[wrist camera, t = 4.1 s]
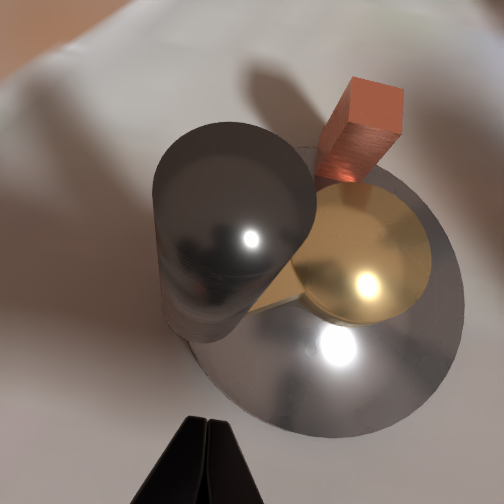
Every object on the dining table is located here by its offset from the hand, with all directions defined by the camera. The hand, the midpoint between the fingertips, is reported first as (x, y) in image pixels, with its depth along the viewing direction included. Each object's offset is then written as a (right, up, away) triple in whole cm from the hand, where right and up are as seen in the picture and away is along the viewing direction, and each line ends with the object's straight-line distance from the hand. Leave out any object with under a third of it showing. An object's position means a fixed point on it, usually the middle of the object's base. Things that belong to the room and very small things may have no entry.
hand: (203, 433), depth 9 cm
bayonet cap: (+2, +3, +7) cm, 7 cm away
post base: (+4, +2, +10) cm, 11 cm away
